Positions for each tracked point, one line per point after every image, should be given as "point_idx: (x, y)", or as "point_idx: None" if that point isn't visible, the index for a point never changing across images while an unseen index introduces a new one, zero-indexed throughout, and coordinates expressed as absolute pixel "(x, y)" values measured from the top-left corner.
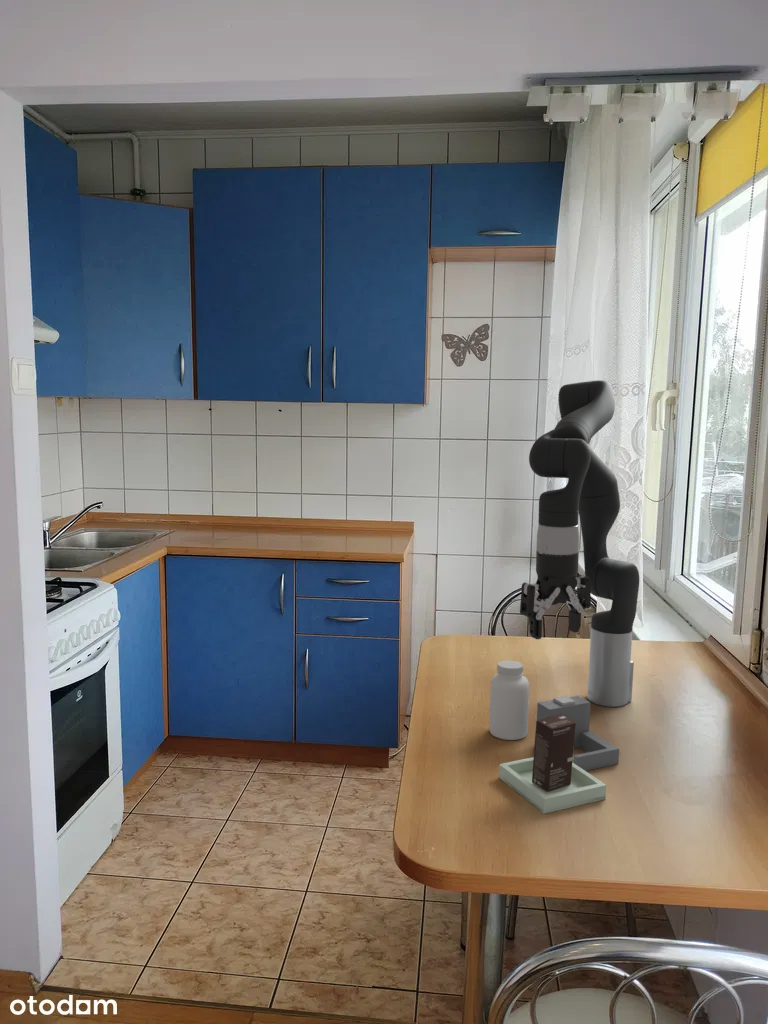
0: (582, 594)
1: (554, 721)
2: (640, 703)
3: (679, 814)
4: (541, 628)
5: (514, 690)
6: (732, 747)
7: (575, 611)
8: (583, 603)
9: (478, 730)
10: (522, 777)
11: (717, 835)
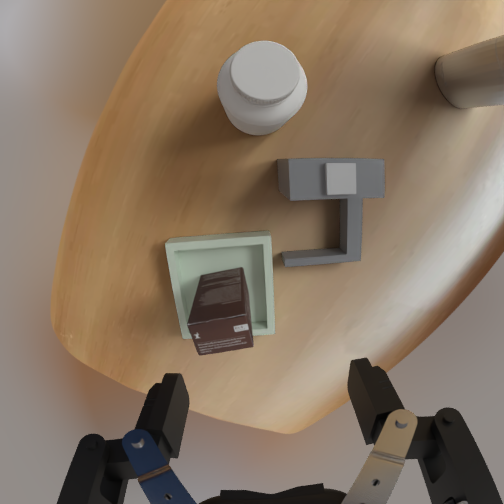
0: (437, 482)
1: (216, 337)
2: (480, 114)
3: (324, 363)
4: (182, 431)
5: (250, 123)
6: (478, 258)
7: (375, 441)
8: (420, 457)
9: (214, 82)
10: (179, 287)
11: (325, 392)
